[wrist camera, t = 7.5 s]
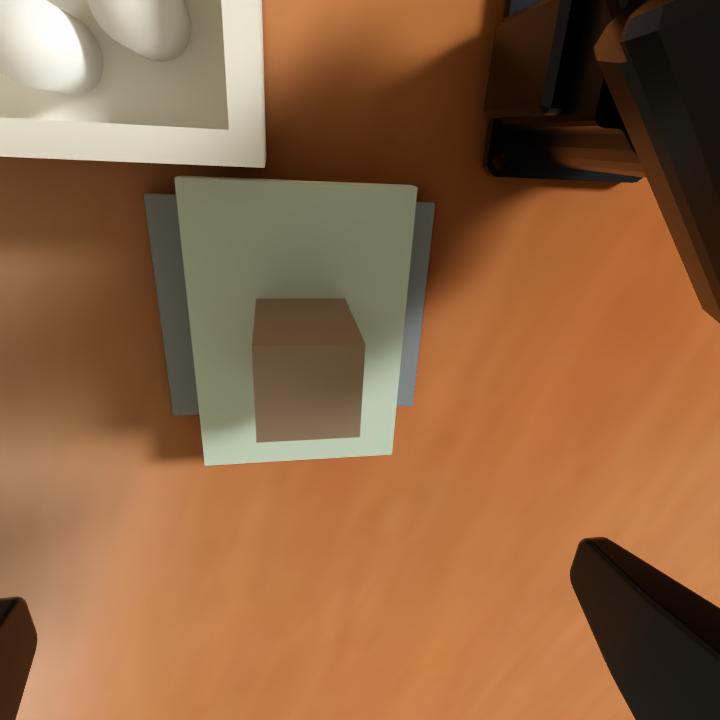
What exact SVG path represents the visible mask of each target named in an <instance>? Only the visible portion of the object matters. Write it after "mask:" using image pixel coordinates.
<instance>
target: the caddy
mask: <svg viewBox="0 0 720 720" xmlns="http://www.w3.org/2000/svg"><path fill="white" fill-rule="evenodd" d="M0 157H23V158H46V159H70V160H93V161H116V162H140V163H163V164H186V165H210V166H233V167H256V168H265V163H266V128H265V94H264V61H263V28H262V0H0Z"/></svg>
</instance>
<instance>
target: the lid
mask: <svg viewBox="0 0 720 720" xmlns="http://www.w3.org/2000/svg"><path fill="white" fill-rule="evenodd" d="M174 180H175V189H176V199H177V208H178V217H179V227H180V236H181V246H182V255H183V265H184V274H185V284H186V293H187V302H188V312H189V321H190V331H191V340H192V350H193V359H194V369H195V378H196V387H197V397H198V406H199V416H200V425H201V435H202V444H203V454H204V463H205V466H207V465H224V464H241V463H257V462H274V461H291V460H307V459H324V458H341V457H357V456H374V455H391V454H392V447H393V437H394V426H395V416H396V406H397V395H398V385H399V375H400V364H401V354H402V344H403V333H404V323H405V313H406V302H407V292H408V281H409V271H410V261H411V250H412V240H413V230H414V219H415V209H416V199H417V188H418V187H416V186H413V185H403V184H378V183H353V182H328V181H303V180H278V179H253V178H228V177H203V176H177V177H175V178H174Z"/></svg>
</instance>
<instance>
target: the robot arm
mask: <svg viewBox="0 0 720 720" xmlns="http://www.w3.org/2000/svg"><path fill="white" fill-rule="evenodd" d="M484 111H485V113H486V114H487V116H488V117H489V121H488V128H487V135H486V142H485V149H484V155H483V168H484V170H485V172H486V173H487V174H488V175H492V176H496V177H513V178H537V179H560V180H583V181H606V182H629V183H633V182H637V181H639V180H641V179H642V178H643V177H646V178H647V179H648V182H649V184H650V186H651V189H652V191H653V193H654V196H655V198H656V200H657V203H658V205H659V208H660V210H661V212H662V215H663V217H664V219H665V222H666V224H667V226H668V229H669V231H670V233H671V236H672V238H673V240H674V243H675V245H676V247H677V250H678V252H679V254H680V257H681V259H682V261H683V264H684V266H685V269H686V271H687V273H688V276H689V278H690V280H691V283H692V285H693V287H694V290H695V292H696V294H697V297H698V299H699V301H700V304H701V306H702V308H703V310H705V311H706V312H707V313H708V314H709V315H711V316H712V317H713V318H714V319H715V320H717V321H718V322H719V323H720V0H506V6H505V12H504V19H503V20H502V21H501V22H500V23H499V24H498V25H497V27H496V30H495V37H494V44H493V51H492V58H491V65H490V72H489V79H488V86H487V93H486V100H485V107H484ZM497 155H500V156H501V157H502V163H501V166H500V167H498V168H495V167H494V162H493V161H494V159H495V157H496V156H497ZM570 580H571V584H572V586H573V589H574V591H575V593H576V596H577V598H578V600H579V603H580V605H581V607H582V609H583V612H584V614H585V616H586V619H587V621H588V623H589V625H590V628H591V630H592V632H593V635H594V637H595V639H596V641H597V644H598V646H599V648H600V651H601V653H602V655H603V657H604V660H605V662H606V664H607V666H608V668H609V670H610V672H611V675H612V676H613V678H614V680H615V682H616V684H617V686H618V688H619V690H620V692H621V694H622V695H623V697H624V699H625V701H626V703H627V705H628V706H629V708H630V710H631V712H632V714H633V716H634V718H635V719H636V720H720V608H719V607H717V606H716V605H714V604H712V603H711V602H709V601H708V600H706V599H704V598H703V597H701V596H700V595H698V594H696V593H695V592H693V591H691V590H690V589H688V588H687V587H685V586H683V585H682V584H680V583H679V582H677V581H675V580H674V579H672V578H671V577H669V576H667V575H666V574H664V573H662V572H661V571H659V570H658V569H656V568H654V567H653V566H651V565H650V564H648V563H646V562H645V561H643V560H642V559H640V558H638V557H637V556H635V555H633V554H632V553H630V552H629V551H627V550H625V549H624V548H622V547H621V546H619V545H617V544H616V543H614V542H612V541H611V540H609V539H607V538H605V537H594V538H585V539H582V540H581V541H580V543H579V545H578V548H577V551H576V554H575V557H574V560H573V563H572V566H571V570H570ZM36 646H37V633H36V629H35V626H34V623H33V621H32V618H31V615H30V612H29V609H28V606H27V603H26V601H25V600H24V599H23V598H21V597H10V598H0V720H15V719H16V716H17V713H18V709H19V706H20V702H21V699H22V696H23V692H24V689H25V685H26V682H27V678H28V675H29V672H30V668H31V665H32V661H33V658H34V654H35V651H36Z"/></svg>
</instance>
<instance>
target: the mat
mask: <svg viewBox="0 0 720 720" xmlns="http://www.w3.org/2000/svg"><path fill="white" fill-rule="evenodd" d="M143 195H144V202H145V210H146V217H147V225H148V232H149V240H150V247H151V254H152V262H153V269H154V277H155V284H156V292H157V299H158V307H159V314H160V321H161V329H162V336H163V344H164V351H165V359H166V366H167V374H168V381H169V388H170V396H171V403H172V411H173V416H182V415H199V406H198V397H197V387H196V378H195V369H194V359H193V350H192V340H191V331H190V321H189V312H188V302H187V293H186V284H185V274H184V265H183V255H182V246H181V236H180V227H179V217H178V208H177V199H176V194H166V193H145V194H143ZM434 211H435V203H433V202H416V209H415V219H414V230H413V240H412V250H411V261H410V271H409V281H408V292H407V302H406V313H405V323H404V333H403V344H402V354H401V364H400V375H399V385H398V395H397V406H413V398H414V389H415V381H416V372H417V363H418V354H419V345H420V336H421V327H422V318H423V309H424V300H425V291H426V282H427V273H428V264H429V255H430V247H431V238H432V229H433V220H434Z"/></svg>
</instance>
